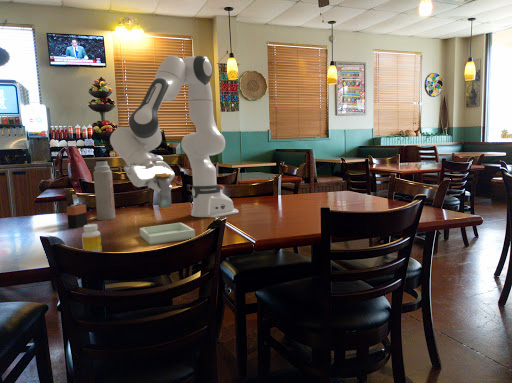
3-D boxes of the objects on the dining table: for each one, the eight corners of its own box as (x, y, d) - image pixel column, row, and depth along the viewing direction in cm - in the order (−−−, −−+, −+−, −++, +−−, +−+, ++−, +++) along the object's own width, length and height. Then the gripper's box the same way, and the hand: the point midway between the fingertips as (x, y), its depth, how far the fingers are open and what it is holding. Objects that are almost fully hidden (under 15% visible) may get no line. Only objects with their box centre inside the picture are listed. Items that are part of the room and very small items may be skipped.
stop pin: (170, 204, 141) (168, 172, 140) (174, 206, 136) (172, 173, 135) (155, 206, 139) (153, 173, 137) (159, 208, 134) (157, 174, 132)
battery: (88, 225, 166) (86, 202, 164) (75, 228, 159) (73, 205, 158) (80, 224, 167) (78, 202, 166) (67, 228, 161) (65, 204, 160)
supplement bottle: (82, 255, 119) (79, 225, 118) (99, 251, 122) (97, 222, 121) (85, 259, 115) (82, 227, 113) (104, 255, 118) (101, 225, 116)
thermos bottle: (118, 216, 183) (114, 158, 179) (109, 220, 175) (104, 159, 172) (103, 216, 185) (99, 159, 181) (93, 219, 177) (88, 159, 173)
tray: (181, 229, 150) (181, 222, 149) (195, 238, 136) (194, 229, 135) (140, 235, 142) (139, 227, 142) (150, 245, 128) (149, 236, 128)
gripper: (125, 158, 129) (150, 187, 126) (163, 155, 147) (186, 181, 144) (116, 172, 131) (141, 200, 128) (155, 167, 150) (177, 192, 147)
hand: (165, 190), depth 137 cm, fingers closed on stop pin, 5 cm apart
